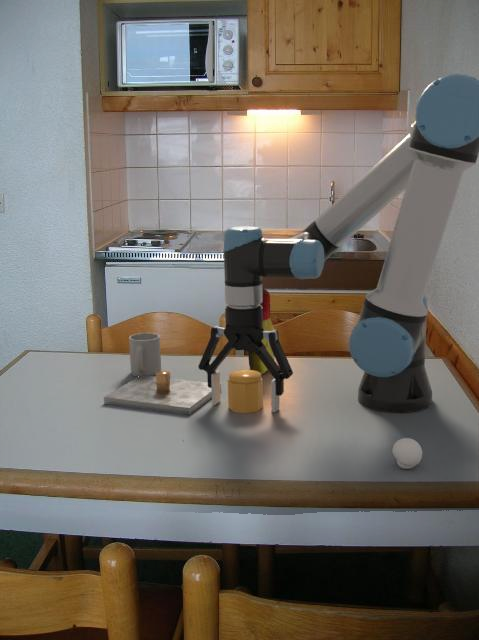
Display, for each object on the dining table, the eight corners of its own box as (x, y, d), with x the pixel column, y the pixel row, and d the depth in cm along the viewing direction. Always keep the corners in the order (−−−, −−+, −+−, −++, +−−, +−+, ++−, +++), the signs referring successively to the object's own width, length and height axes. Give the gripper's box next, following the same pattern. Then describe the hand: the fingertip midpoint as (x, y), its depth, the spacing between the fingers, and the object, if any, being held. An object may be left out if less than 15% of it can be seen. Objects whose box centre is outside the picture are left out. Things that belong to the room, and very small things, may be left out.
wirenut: (266, 403, 155) (265, 371, 153) (254, 414, 149) (254, 381, 147) (237, 400, 157) (236, 368, 155) (224, 410, 151) (223, 377, 150)
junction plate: (221, 390, 163) (220, 366, 162) (189, 414, 149) (188, 388, 148) (141, 381, 171) (140, 358, 170) (104, 403, 156) (102, 378, 155)
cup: (164, 368, 180) (162, 333, 178) (154, 381, 171) (152, 344, 169) (135, 367, 181) (133, 332, 179) (123, 380, 172) (121, 343, 170)
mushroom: (393, 459, 126) (394, 432, 125) (422, 462, 125) (423, 435, 124) (390, 471, 122) (391, 443, 121) (420, 475, 120) (422, 446, 119)
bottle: (269, 378, 171) (268, 293, 167) (242, 377, 173) (240, 292, 168) (278, 363, 183) (277, 283, 178) (253, 362, 184) (251, 283, 179)
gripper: (308, 304, 147) (307, 407, 152) (196, 297, 156) (199, 394, 161) (296, 312, 140) (296, 419, 145) (180, 304, 149) (183, 405, 154)
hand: (245, 406), depth 153 cm, fingers open, 12 cm apart
